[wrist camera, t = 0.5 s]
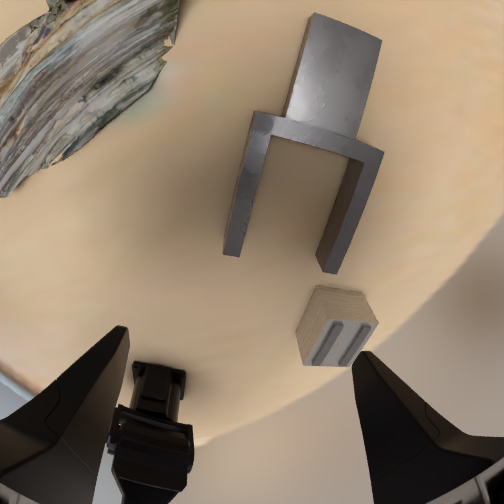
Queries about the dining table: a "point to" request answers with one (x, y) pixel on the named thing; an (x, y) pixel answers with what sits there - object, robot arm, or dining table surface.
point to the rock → (75, 76)
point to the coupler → (318, 131)
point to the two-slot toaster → (334, 327)
